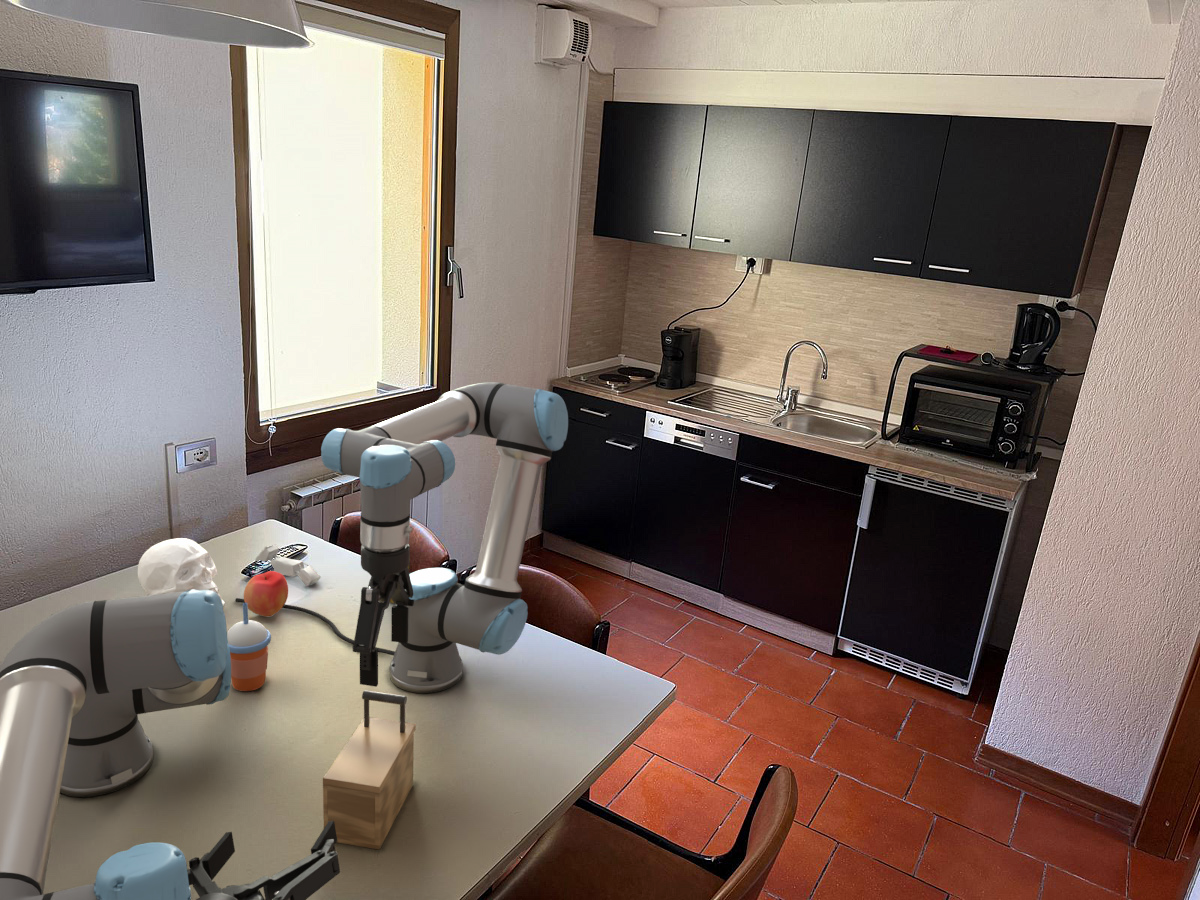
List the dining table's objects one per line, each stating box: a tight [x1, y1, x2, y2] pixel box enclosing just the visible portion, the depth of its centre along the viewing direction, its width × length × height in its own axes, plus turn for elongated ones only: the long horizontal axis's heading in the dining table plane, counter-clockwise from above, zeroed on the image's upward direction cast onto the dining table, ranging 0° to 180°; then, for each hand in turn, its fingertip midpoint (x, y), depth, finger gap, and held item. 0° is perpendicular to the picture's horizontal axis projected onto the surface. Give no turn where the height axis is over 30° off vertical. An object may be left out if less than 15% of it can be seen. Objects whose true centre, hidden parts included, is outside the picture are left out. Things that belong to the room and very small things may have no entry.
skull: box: [137, 537, 226, 608], centre depth 200 cm, size 13×22×16 cm, turn 73°
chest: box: [322, 733, 415, 850], centre depth 141 cm, size 16×9×10 cm, turn 173°
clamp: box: [254, 544, 322, 587], centre depth 219 cm, size 20×4×7 cm, turn 62°
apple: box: [243, 570, 289, 618], centre depth 199 cm, size 10×10×10 cm
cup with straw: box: [227, 603, 272, 692], centre depth 171 cm, size 9×9×18 cm
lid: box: [322, 689, 417, 793], centre depth 138 cm, size 16×9×8 cm, turn 173°
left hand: (281, 836), depth 111 cm, fingers open, 13 cm apart
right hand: (385, 662), depth 141 cm, fingers open, 13 cm apart
